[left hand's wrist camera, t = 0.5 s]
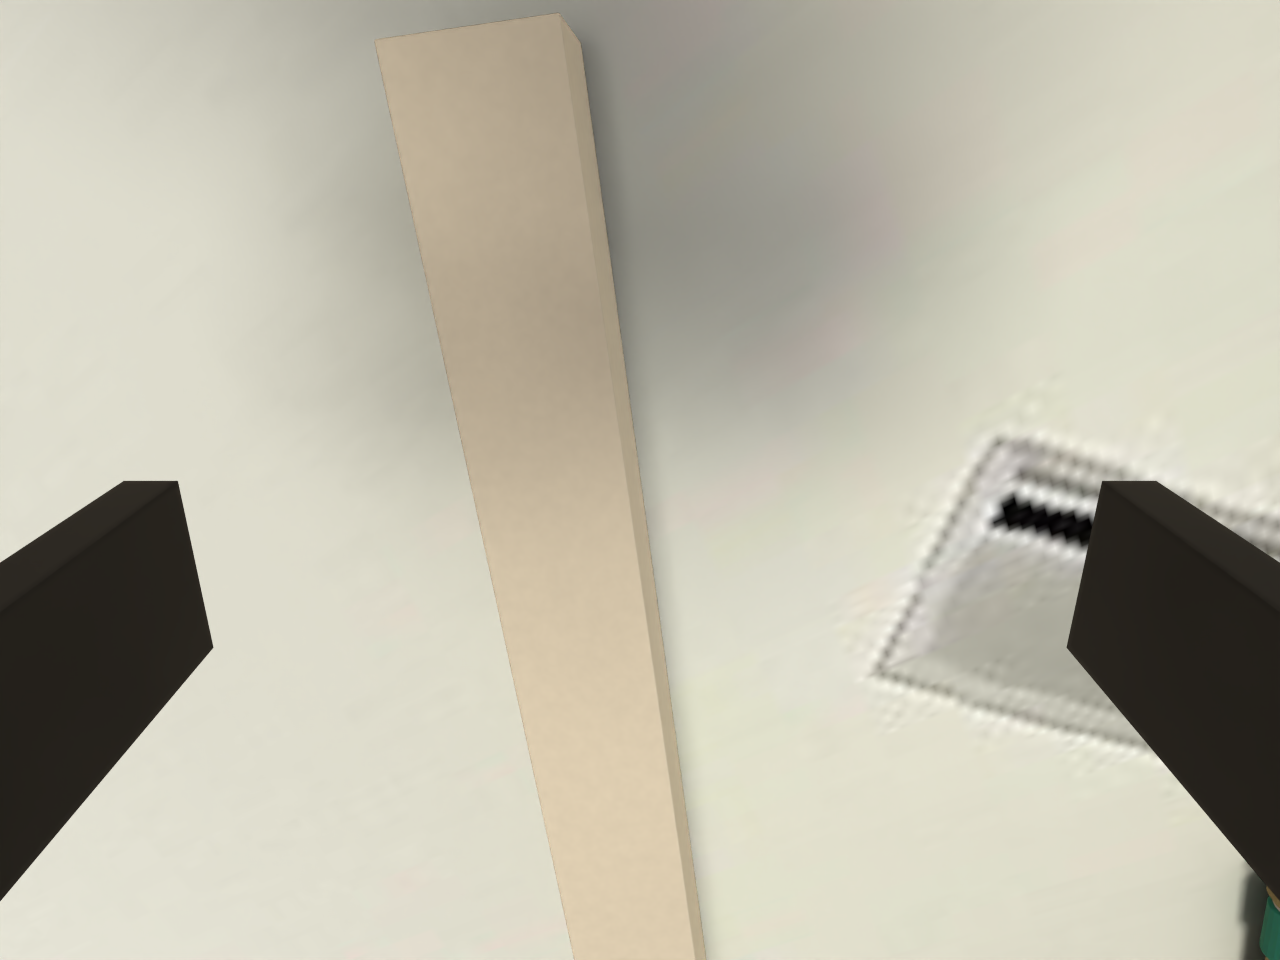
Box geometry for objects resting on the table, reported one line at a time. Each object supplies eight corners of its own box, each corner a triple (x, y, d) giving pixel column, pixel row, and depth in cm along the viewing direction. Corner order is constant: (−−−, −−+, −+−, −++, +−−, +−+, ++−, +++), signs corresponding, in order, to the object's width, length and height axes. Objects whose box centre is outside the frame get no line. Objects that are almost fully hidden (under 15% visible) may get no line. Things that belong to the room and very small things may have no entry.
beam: (440, 62, 29) (372, 39, 22) (580, 42, 28) (559, 12, 21) (635, 1072, 48) (634, 1237, 41) (720, 1065, 47) (734, 1230, 40)
